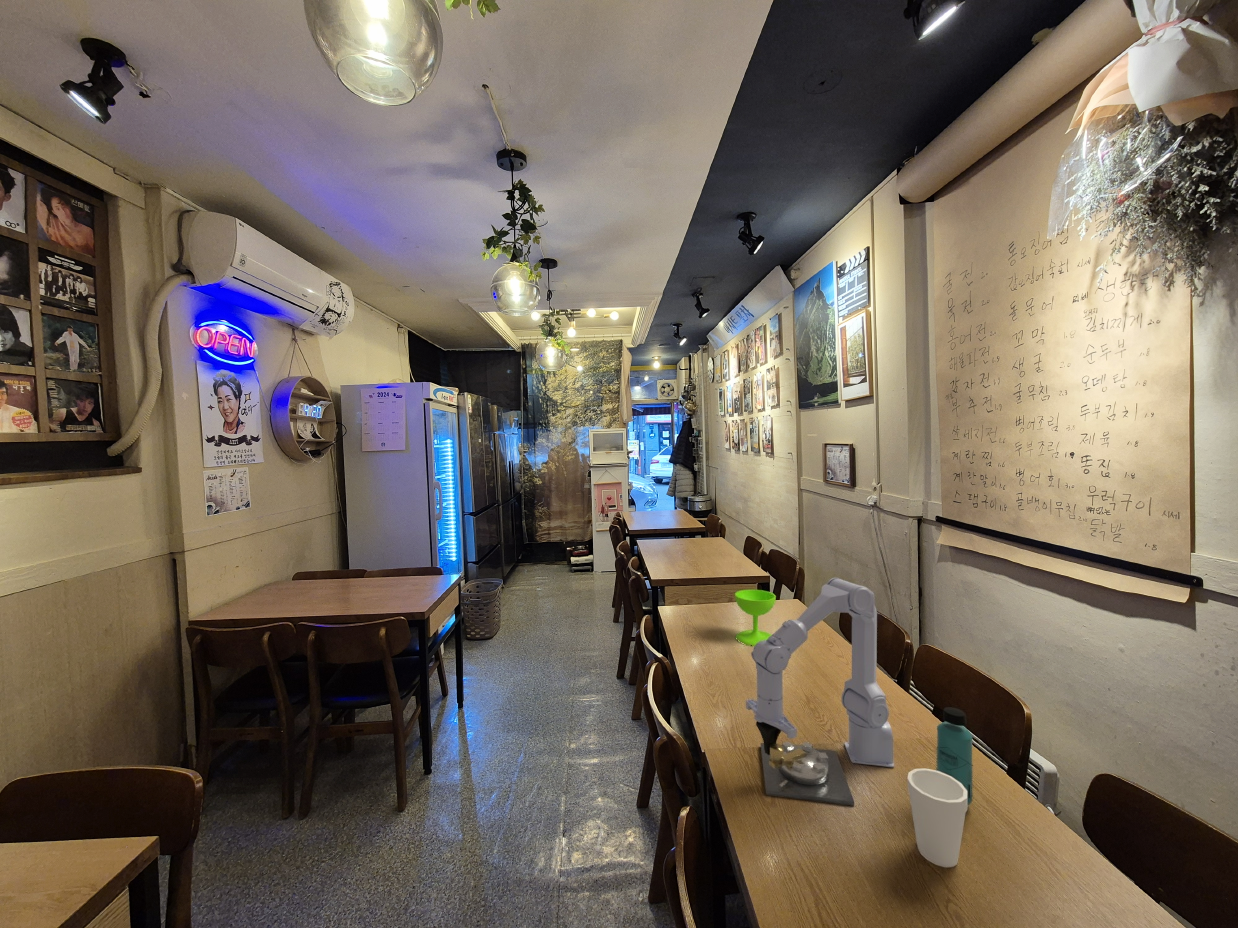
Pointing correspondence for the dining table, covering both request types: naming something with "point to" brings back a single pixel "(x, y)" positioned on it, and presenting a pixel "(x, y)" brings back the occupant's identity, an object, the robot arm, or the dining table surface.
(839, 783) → the dark grey square plate
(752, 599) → the wineglass
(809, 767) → the metal round piece
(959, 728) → the beverage bottle
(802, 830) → the dining table surface
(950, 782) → the foam cup
